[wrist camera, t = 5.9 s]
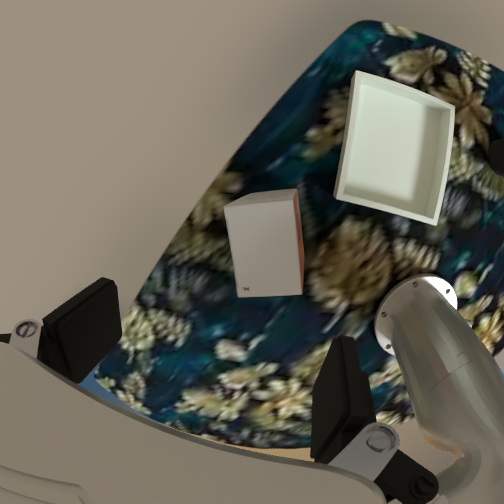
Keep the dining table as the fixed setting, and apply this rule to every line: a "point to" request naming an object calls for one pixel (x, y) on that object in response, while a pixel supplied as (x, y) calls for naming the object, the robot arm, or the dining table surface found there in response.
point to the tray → (395, 148)
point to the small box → (266, 243)
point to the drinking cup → (497, 156)
